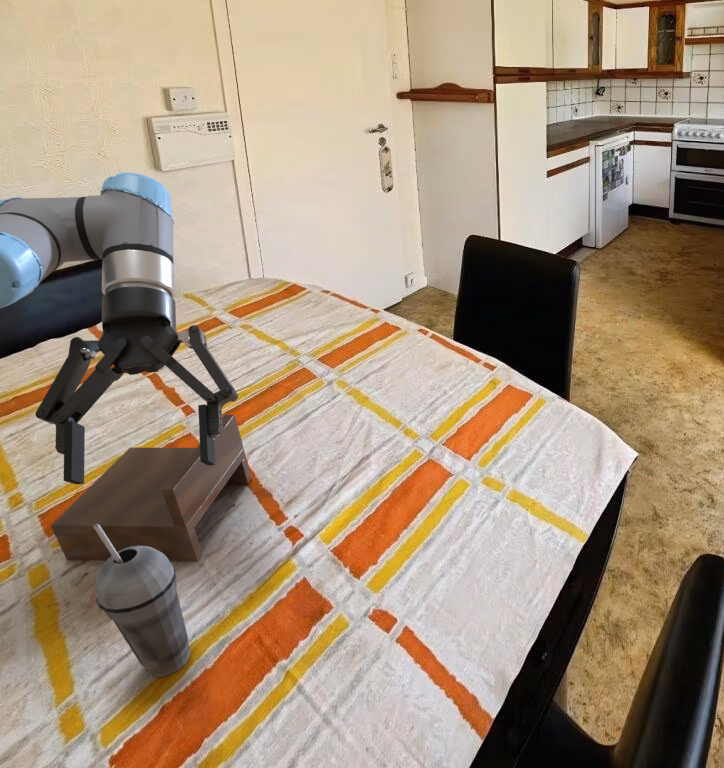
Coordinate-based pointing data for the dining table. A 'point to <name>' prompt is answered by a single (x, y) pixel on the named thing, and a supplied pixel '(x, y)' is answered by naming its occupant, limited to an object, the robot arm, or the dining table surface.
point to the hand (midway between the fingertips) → (142, 473)
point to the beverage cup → (144, 605)
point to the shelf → (153, 499)
